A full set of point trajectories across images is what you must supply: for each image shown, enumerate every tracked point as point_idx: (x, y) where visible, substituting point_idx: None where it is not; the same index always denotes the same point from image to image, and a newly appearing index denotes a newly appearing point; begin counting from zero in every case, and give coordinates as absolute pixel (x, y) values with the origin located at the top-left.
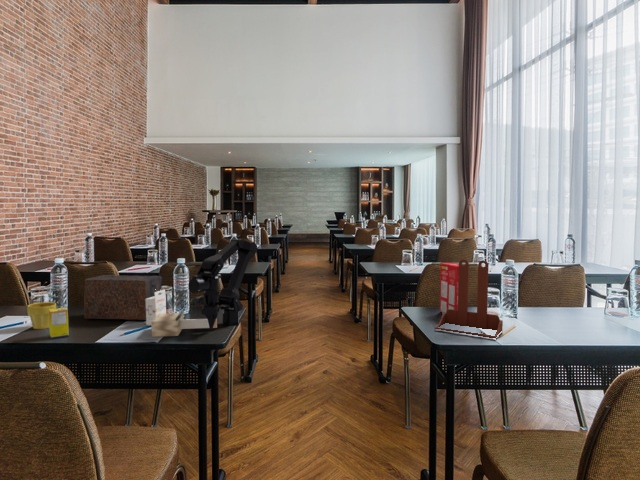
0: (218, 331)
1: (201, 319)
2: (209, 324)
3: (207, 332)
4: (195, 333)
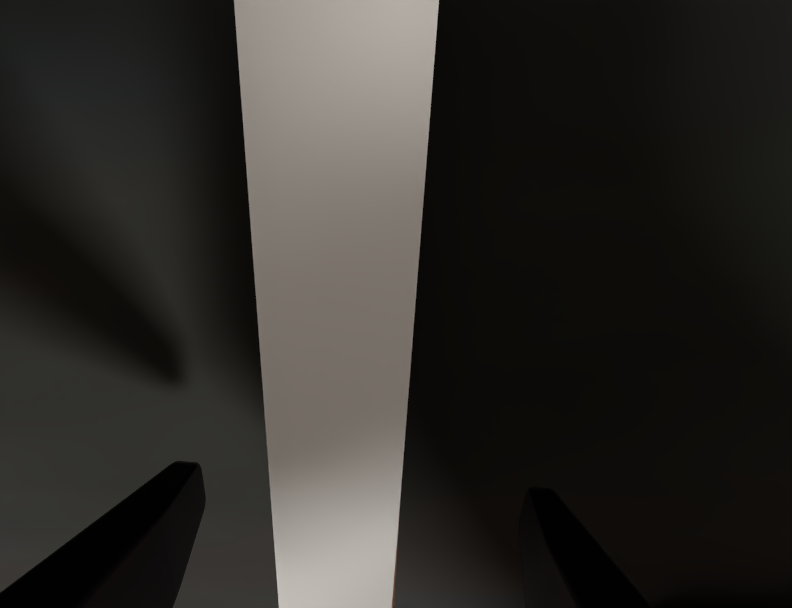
0: (259, 524)
1: (296, 420)
2: (86, 540)
3: (192, 359)
4: (93, 92)
